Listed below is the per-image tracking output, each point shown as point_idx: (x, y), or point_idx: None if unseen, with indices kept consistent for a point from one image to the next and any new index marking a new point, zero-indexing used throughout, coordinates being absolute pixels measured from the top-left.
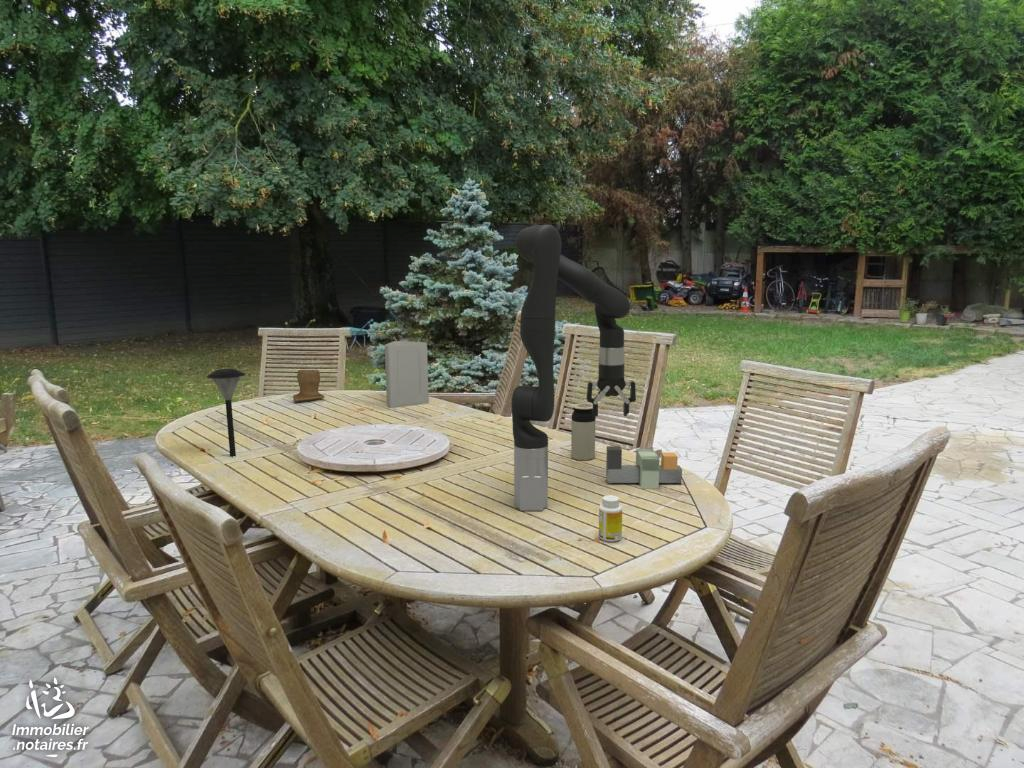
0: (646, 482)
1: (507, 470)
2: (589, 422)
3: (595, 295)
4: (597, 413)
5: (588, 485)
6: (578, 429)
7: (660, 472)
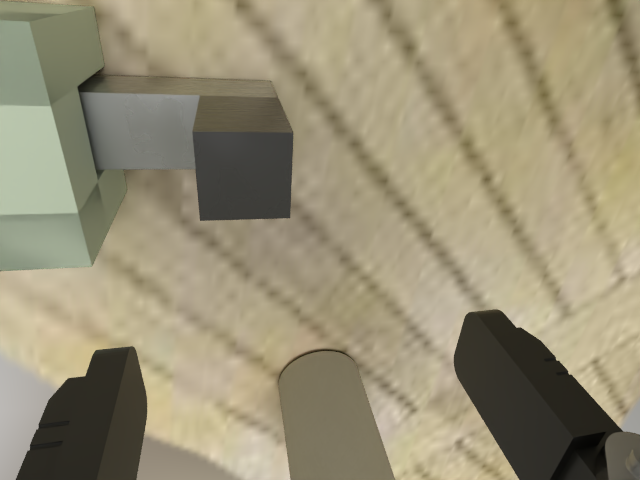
0: (52, 7)
1: (593, 245)
2: None
3: None
4: (495, 332)
5: (358, 73)
6: (372, 455)
7: None
